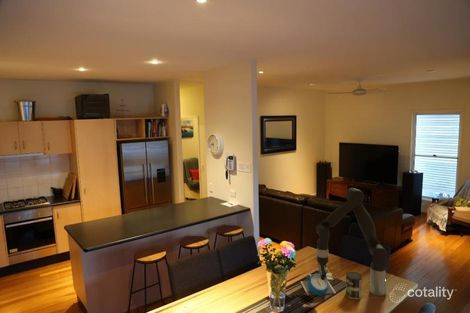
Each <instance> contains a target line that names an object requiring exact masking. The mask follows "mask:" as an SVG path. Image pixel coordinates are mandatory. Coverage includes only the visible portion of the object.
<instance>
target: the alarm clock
mask: <svg viewBox="0 0 470 313" xmlns="http://www.w3.org/2000/svg"><path fill="white" fill-rule="evenodd" d="M306 281H308V288H309V290H310V291H311V292H312V293H313V294H315V295H314V296H318V297H319V296H324V294H325V293H326V291H328V290H327V289H328V286H329V284H328V282H329V280H328V281H327V278H326V277H325V280H321V274H320V272H316V273H314V274H311V273H310V274H308V275H306ZM325 295H326V294H325Z"/></svg>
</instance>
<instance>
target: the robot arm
mask: <svg viewBox="0 0 470 313" xmlns="http://www.w3.org/2000/svg"><path fill="white" fill-rule="evenodd" d="M345 198H346V199H347V201H345V202H344V203H343V204H341V206H339V207H337V208H335V209H334V210H333V211H332V212H331V213H330V214H329V215H328V216H327V217H326V218H325V219H324V220H322V221H321V222H319V223H318V224H317V225H316V226H315V232H316V234H318V236H319V238H317V241H316V242H317V243H316V262H317V266H318V271H319V273H320V274H321V280H325V278H326V274H327V272H328V271H329V269H328V270H326V267H327V264H328V263H329V262H330V261H329V260H330V259H329V257H330V256H329V240H330V236H331V232H330V229H329V228H331V227H333V228H334V227H335V226H337V225H338V223H339V222H340V221H341V220H343V218H344V217H345V216H346V215H347V214H348V213H349V212H350V211H353V213H354V216H355V218H356V221H357V223H358V226H359V229H360V231H361V233H362V236H363V237H364V238H365V241H366V244H367V247H368V251H369V253H370V254H371V256H372V262H370V278H369V279H370V281H369V282H370V286H369V291H370V293H371V294H372V295H373V296H377V297H382V296H385V295H387V280H386V267H387V266H388V251H387V250H386V249H385V247H383V245H382V244H381V243H380V241H379V239H378V237H377V234H376V233H377V231H376V226H375V223H374V221H373V218H372V216H371V215H370V213H369V212H368V211H367V210H366V208H365V207H364V205H363V201H364V199H365V194H364V192H363V191H362V190H360V189H358V188H354V187H350V188H348V189H347V190H346V192H345ZM327 268H328V267H327Z"/></svg>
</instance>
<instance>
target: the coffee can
mask: <svg viewBox="0 0 470 313" xmlns="http://www.w3.org/2000/svg"><path fill="white" fill-rule="evenodd" d="M362 293H363V275H362V274H361V273H359V272H356V271H348V272H346V273H345V295H346V297H348V298H349V299H351V300H360V299H362V297H363V294H362Z"/></svg>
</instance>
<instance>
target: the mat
mask: <svg viewBox="0 0 470 313" xmlns="http://www.w3.org/2000/svg"><path fill="white" fill-rule="evenodd" d="M308 281H309V280H308ZM308 281H307V280H304V281H303V280H302V281H300V285H301V286H302V288H303V290H304V292H305V294H306V296H307V297H309V296H316V295H315V294H313V293H312V292H311V291H310V290H309V288H308ZM327 281H328V284H329V286H328V289H327V290H328V291H326V293H325V294H324V295H336V294H337V292H336V291H335V289H334V288H333V286H332V285H331V283H330V282H329V280H327ZM324 295H323V296H324Z"/></svg>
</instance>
